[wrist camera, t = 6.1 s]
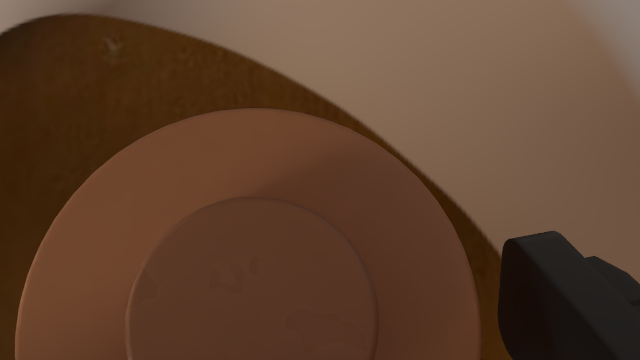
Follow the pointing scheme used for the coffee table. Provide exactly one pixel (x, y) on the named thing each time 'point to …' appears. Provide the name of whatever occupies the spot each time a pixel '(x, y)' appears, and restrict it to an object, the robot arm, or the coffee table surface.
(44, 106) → the coffee table surface
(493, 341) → the coffee table surface
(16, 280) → the coffee table surface
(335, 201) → the shaker lid
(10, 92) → the coffee table surface
